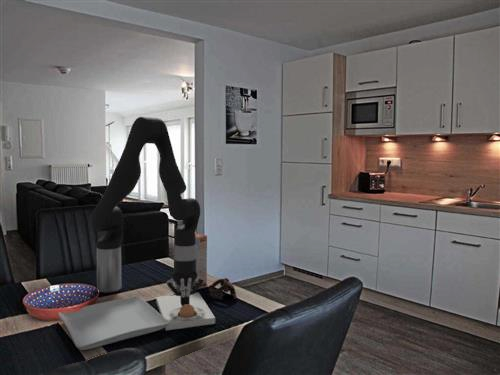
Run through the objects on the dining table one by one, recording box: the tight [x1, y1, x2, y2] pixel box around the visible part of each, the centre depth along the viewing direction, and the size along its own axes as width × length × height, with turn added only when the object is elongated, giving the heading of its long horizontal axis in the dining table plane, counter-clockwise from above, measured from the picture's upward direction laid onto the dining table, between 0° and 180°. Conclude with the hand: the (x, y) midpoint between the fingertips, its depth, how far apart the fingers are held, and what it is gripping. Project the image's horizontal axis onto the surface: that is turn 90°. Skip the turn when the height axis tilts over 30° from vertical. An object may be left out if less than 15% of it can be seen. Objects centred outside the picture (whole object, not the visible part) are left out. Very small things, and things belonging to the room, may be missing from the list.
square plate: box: [57, 295, 169, 351], centre depth 127 cm, size 27×27×4 cm
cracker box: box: [191, 233, 208, 286], centre depth 170 cm, size 14×6×21 cm, turn 54°
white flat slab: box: [155, 292, 216, 331], centre depth 139 cm, size 16×24×2 cm, turn 20°
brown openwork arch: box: [208, 277, 237, 300], centre depth 155 cm, size 12×10×8 cm
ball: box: [180, 304, 195, 318], centre depth 134 cm, size 5×5×5 cm
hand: (184, 306), depth 137 cm, fingers closed
